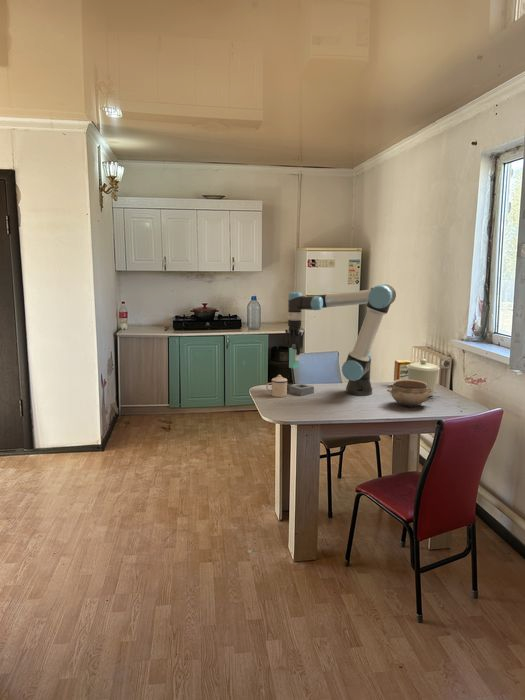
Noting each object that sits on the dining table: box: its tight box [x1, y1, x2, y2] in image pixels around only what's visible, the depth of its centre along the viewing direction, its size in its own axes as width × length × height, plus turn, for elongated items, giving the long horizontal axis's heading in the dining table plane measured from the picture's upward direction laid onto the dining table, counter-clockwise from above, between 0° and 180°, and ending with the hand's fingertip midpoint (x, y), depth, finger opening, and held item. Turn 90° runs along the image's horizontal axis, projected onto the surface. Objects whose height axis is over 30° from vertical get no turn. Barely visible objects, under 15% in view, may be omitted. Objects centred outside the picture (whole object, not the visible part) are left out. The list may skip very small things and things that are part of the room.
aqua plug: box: [288, 343, 300, 369], centre depth 299 cm, size 4×4×14 cm
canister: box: [407, 358, 441, 398], centre depth 296 cm, size 18×18×21 cm
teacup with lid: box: [265, 374, 288, 398], centre depth 290 cm, size 12×9×12 cm
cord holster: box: [287, 383, 295, 392], centre depth 304 cm, size 7×7×2 cm
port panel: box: [288, 383, 315, 397], centre depth 297 cm, size 10×10×4 cm
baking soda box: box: [392, 359, 415, 386], centre depth 316 cm, size 10×6×16 cm
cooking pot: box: [386, 379, 432, 408], centre depth 274 cm, size 25×19×12 cm
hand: (294, 359), depth 299 cm, fingers closed on aqua plug, 4 cm apart
